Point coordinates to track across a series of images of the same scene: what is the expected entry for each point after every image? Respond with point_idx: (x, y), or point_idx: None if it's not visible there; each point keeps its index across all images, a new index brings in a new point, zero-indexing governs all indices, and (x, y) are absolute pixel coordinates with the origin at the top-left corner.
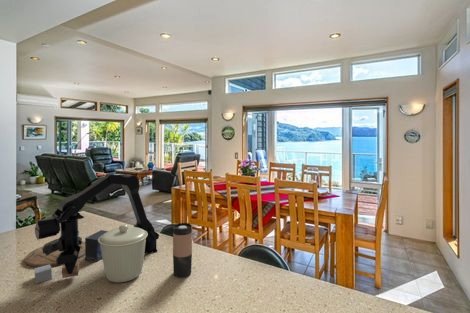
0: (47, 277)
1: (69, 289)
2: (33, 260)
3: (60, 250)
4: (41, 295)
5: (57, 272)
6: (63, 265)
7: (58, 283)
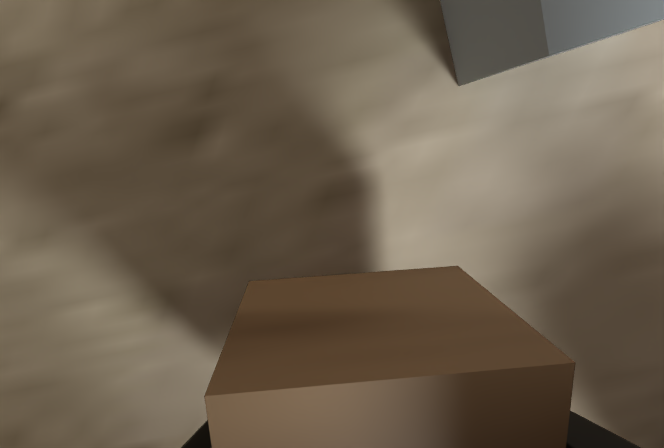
0: (464, 23)
1: (95, 354)
2: None
3: None
4: (25, 56)
5: (612, 122)
6: (373, 390)
7: (289, 201)
